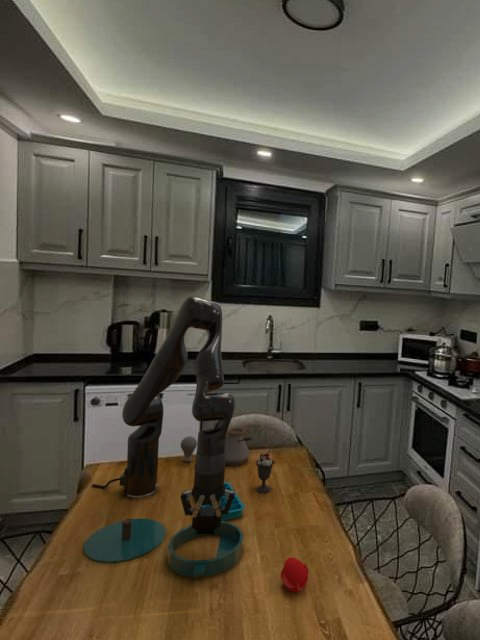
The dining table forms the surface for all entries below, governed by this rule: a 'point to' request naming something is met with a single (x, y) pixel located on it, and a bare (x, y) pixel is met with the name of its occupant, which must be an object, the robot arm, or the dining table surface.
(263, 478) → the sundae
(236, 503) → the ice cube tray
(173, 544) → the teal tabbed round part
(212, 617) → the dining table surface
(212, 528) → the block
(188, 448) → the light bulb
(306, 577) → the red rounded oval piece
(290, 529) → the dining table surface
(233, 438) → the coffee pot
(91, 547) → the lid
